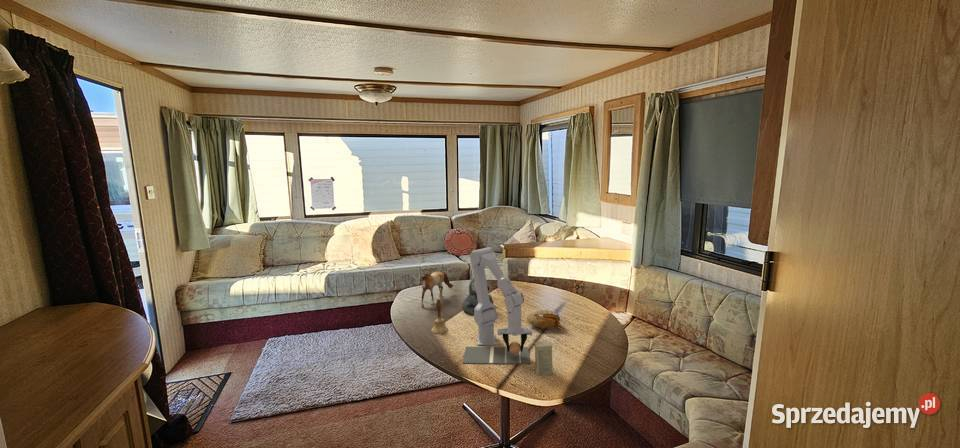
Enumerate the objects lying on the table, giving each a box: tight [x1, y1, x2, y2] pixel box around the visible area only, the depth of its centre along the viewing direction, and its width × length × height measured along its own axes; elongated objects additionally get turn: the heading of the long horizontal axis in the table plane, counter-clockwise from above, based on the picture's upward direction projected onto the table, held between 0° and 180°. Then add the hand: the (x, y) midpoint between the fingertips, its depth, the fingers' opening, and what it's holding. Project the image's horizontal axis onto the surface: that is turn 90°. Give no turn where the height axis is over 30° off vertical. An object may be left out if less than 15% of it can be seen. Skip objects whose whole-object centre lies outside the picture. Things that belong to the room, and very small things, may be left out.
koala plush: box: [461, 275, 494, 315], centre depth 217 cm, size 17×18×20 cm
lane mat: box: [461, 346, 531, 365], centre depth 168 cm, size 14×28×1 cm, turn 86°
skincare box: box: [534, 340, 554, 376], centre depth 153 cm, size 6×4×12 cm
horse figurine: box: [420, 271, 455, 308], centre depth 233 cm, size 31×8×21 cm, turn 152°
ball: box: [509, 341, 521, 354], centre depth 165 cm, size 5×5×5 cm
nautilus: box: [526, 309, 567, 332], centre depth 192 cm, size 8×22×15 cm
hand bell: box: [431, 298, 449, 335], centre depth 193 cm, size 8×8×16 cm
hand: (515, 350), depth 166 cm, fingers closed on ball, 5 cm apart
